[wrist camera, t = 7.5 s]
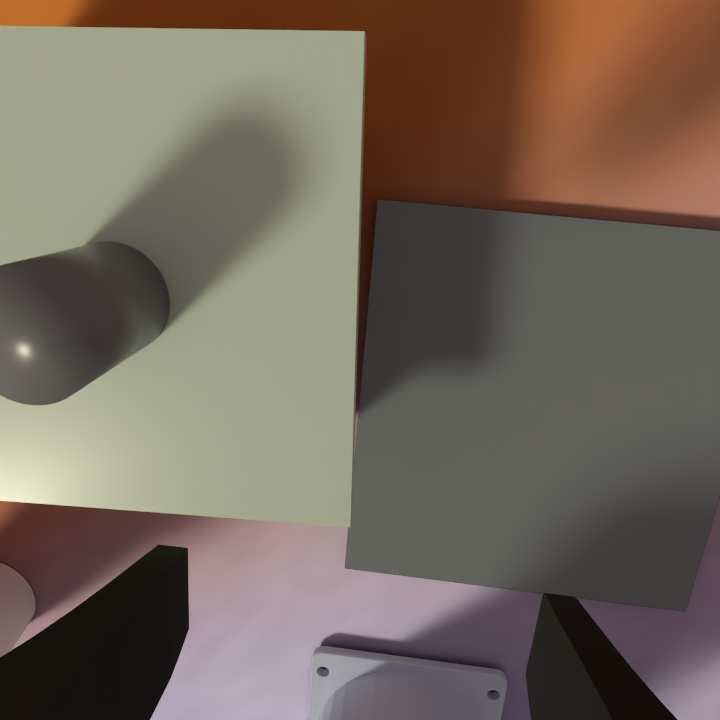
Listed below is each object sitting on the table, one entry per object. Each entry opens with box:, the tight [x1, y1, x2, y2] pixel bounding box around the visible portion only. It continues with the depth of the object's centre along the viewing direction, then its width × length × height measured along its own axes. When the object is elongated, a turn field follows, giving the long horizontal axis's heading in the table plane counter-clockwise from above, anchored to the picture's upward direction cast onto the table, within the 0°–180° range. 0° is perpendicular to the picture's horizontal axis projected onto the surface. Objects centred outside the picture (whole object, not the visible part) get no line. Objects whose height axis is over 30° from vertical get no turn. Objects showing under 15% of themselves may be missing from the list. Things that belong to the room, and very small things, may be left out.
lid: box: [0, 26, 367, 527], centre depth 15 cm, size 13×13×5 cm
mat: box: [345, 199, 720, 612], centre depth 21 cm, size 14×13×1 cm
